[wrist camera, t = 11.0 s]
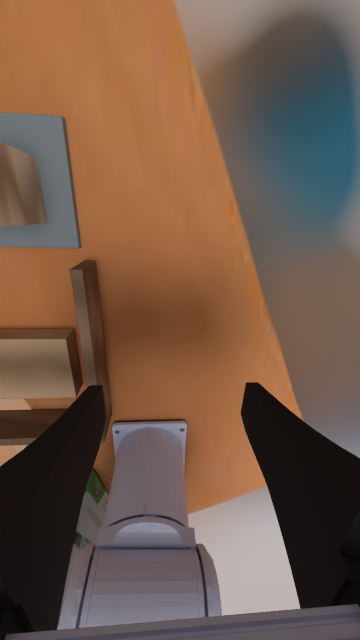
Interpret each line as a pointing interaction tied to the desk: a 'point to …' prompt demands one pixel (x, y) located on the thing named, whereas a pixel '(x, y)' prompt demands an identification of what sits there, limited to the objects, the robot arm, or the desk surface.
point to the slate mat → (44, 180)
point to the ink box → (88, 522)
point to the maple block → (20, 188)
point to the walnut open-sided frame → (53, 363)
